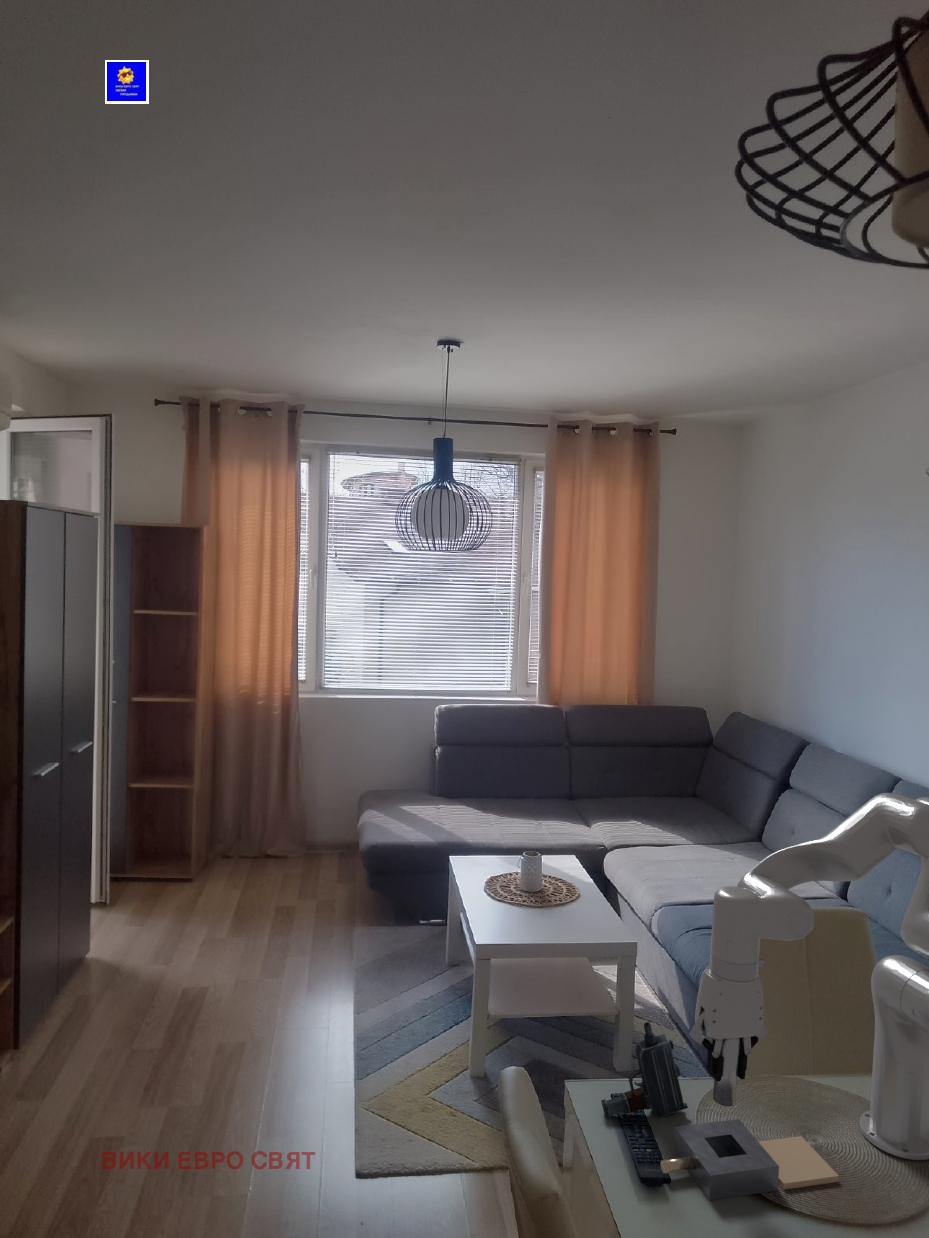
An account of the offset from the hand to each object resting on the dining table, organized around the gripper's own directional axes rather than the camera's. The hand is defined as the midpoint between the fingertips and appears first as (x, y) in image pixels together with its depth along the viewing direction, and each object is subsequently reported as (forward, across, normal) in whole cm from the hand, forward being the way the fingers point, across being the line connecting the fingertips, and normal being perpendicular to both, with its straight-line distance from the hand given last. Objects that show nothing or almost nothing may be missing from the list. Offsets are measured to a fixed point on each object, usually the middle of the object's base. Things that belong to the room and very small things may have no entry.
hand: (726, 1074), depth 140 cm
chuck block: (+16, +2, 0) cm, 16 cm away
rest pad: (+16, -13, +1) cm, 20 cm away
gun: (+17, +6, -16) cm, 24 cm away
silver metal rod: (+4, 0, 0) cm, 4 cm away
